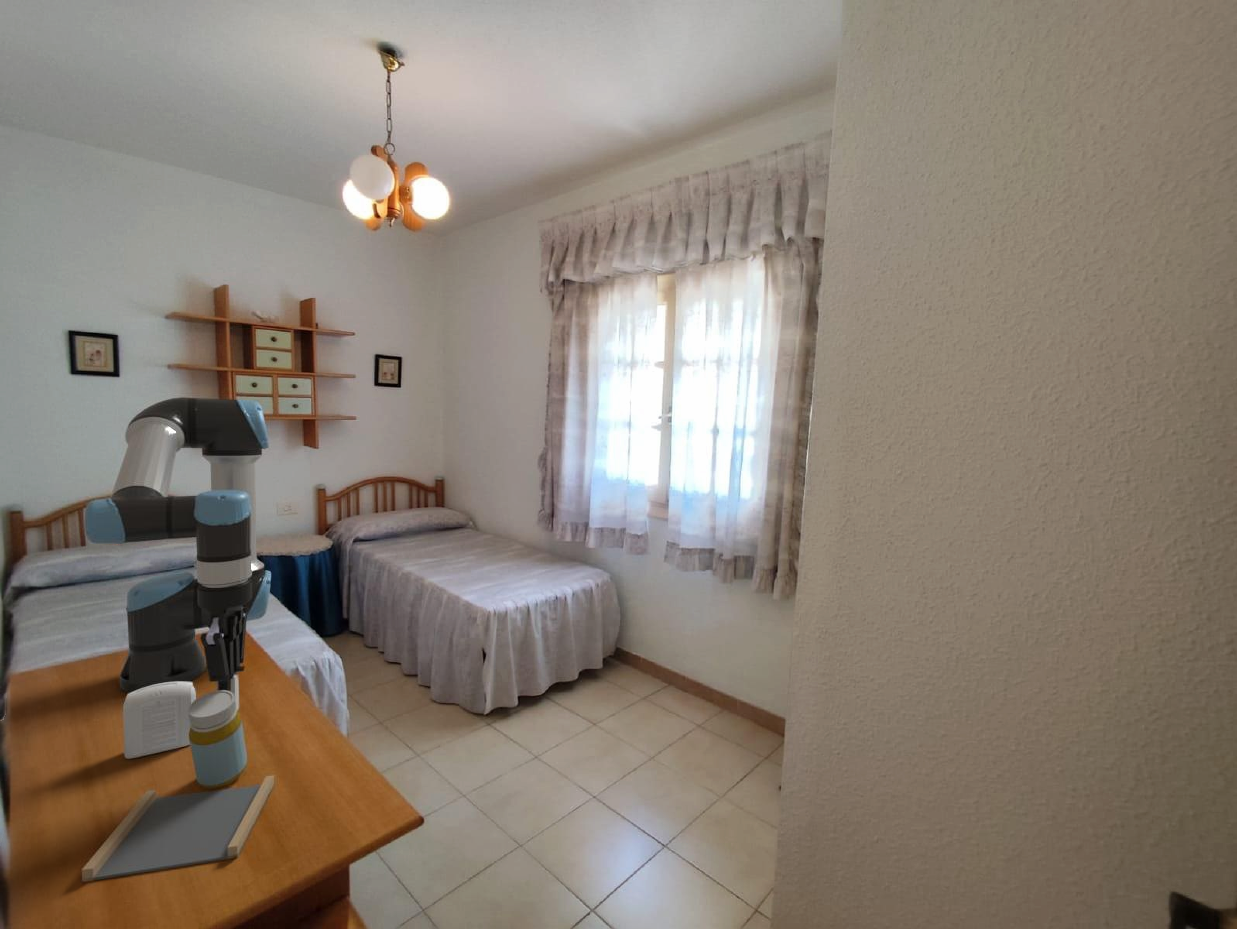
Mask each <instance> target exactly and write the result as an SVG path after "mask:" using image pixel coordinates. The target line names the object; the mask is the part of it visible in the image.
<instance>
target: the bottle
mask: <svg viewBox="0 0 1237 929" xmlns="http://www.w3.org/2000/svg"><path fill="white" fill-rule="evenodd" d="M188 715H189V721H190V724H191V727H190V731H189V740H190V745H189V747H190V750H191V757H192V761H193V762H192V763H193V766H194V772H195V778H196V782H197V784H198V786H200V787H201V788H205V789H210V790H211V789H218V788H223V787H225V786H227V785H230V784H231V783H233V782H234V781H235V780H237V779H238V778H240V776H242V774H243V773H244V772H245V770H246V768H247V766H248V755H247V750H246V749H247V748H246V744H245V736H244V729H243V728H244V727H243V722H242V718H241V717H242V716H241V714H240V713H239V711H238V710H236V701H235V696H234V694H233V693H232V692H230V691H227V690H217V689H216V690H213V691H210V692H207V693H205V694H202V695H200V696H199V697H196V700H194V701H193V702H192V703H191V705H190V706H189V709H188Z"/></svg>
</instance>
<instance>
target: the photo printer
mask: <svg viewBox="0 0 1237 929" xmlns="http://www.w3.org/2000/svg"><path fill="white" fill-rule="evenodd" d="M196 694H197V692H196V688H195V687H194V683H193V681H189V682H185V681H176V682H165V683H159V684H155V685H151V686H147V687H144V688H141V689H138V690H136V691H133V692H131V693H130V692H128V693H127V695H126V697H125V701H124V702H123V706H122V716H123V717H122V719H123V720H122V721H123V751H124V756H123V757H124V758H126V759H128V760H130V759H135V758H140V757H144V756H148V755H153V754H157V753H158V754H159V753H162V752H166V751H170V750H175V749H179V748H182V747H187V746H190V740H189V731H190V727H191V724H190V721H189V715H188V709H189V706H190V705H191V703H192V702H193V701H194V700H196V699H197V697H196V696H197V695H196Z"/></svg>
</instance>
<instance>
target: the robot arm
mask: <svg viewBox="0 0 1237 929" xmlns="http://www.w3.org/2000/svg"><path fill="white" fill-rule="evenodd" d="M265 421H266V420H265V416H264V410H263V407H262V405H261V404H260V403H259V402H257V401H255V400H247V399H246V400H245V399H238V398H237V399H232V398H231V399H230V398H229V399H227V398H226V399H225V398H208V397H207V398H204V397H203V398H202V397H185V396H183V397H175V398H174V397H173V398H169V399H164V400H162V401H159V402H155V403H154V404H151V405H149V406H148V407H146V408H144V409H143V410H142V411H140V412H139V413H138V414H136V415H135V416H134V417H133V418H132V419H131V420H130V422H129V423H128V425H127V428H126V431H125V435H124V437H125V441H126V444H127V448H126V451H125V454H124V457H123V459H122V463H121V465H120V469H119V471H118V475H117V477H116V480H115V483H114V486H113V489H112V492H111V495H110V497H106V498H102V499H94V500H91V501H90V502H88V503H87V505H86V507H85V512H84V530H85V537H87V539H88V541H89V542H90V543H93V544H97V545H98V544H118V545H121V544H122V545H123V544H124V543H125V544H126V543H136V542H139V543H141V542H150V541H161V540H178V539H189V538H191V539H193V538H195V542H196V562H195V563H194V564H193V566H194V568H195V569H196V576H197V577H196V578H195V575H194V574H193V573H192V572H188V571H185V572H179V571H178V572H172V573H166V574H162V575H157V576H154V577H152V578H151V577H150V578H147V579H145V580H143V581H141V582H138V583H136V584H134V585H133V586H132V587H131V588H130V589H129V590H128V592H127V595H126V596H127V597H126V606H125V611H126V613H127V615H126V616H127V632H128V653H127V655H126V657H125V659H124V663H123V667H122V669H121V671H120V674H119V678H118V679H119V688H120V690H122V691H124V692H127V693H131V692H133V691H136V690H138V689H141V688H144V687H147V686H151V685H155V684H159V683H165V682H176V681H185V682H192V681H193V680H194V679H196V678H198V677H200V676H201V675H202V674H203V673H204V672H205V671H206V667H207V673H208V679H209V682H211V683H212V682H216V691H217V690H227V691H230V692H232V693H233V694H234V696H235V701H236V710H237V711H238V710H239V709H240V692H239V690H240V689H239V686H240V685H239V672H240V673H241V672H244V671H245V668H246V666H245V665H242V666H241V664H243V663H244V661H245V648H246V647H245V646H246V634H247V633H246V632H247V630H246V629H247V622H250V621H254V620H260V619H261V618H263V617H265V615H266V613H267V612H268V606H269V599H270V592H271V591H270V590H271V580H272V572H271V571H270V570H265V563H264V562H262V561H260V560H259V559H258V555H257V523H256V522H257V519H256V518H257V515H256V514H257V513H256V510H257V508H256V468H255V467H256V464H255V463H256V462H257V461H258V460H259V459H261V457H262V456H263V450H267V449H268V448H269V447H270V446H269V438H268V433H267V432H268V431H267V426H266V422H265ZM181 449H201V457H203V458H204V459H205V460H206V461H208V462H209V464H210V486H211V487H210V490H208V491H204V492H200V493H198V494H197V495H181V496H169V491H170V490H169V489H170V485H171V480H172V476H173V470H174V465H175V459H176V454H177V453H178V452H180V450H181ZM205 628H209V630H208V632H207V633H202V634H201V635H200V642H201V644H202V645H203V649H204V653H203V650H202V648H201V646H200V644H199V642H198V641H197V638H196V630H200V629H205ZM204 654H205V655H204Z"/></svg>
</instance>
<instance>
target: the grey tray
mask: <svg viewBox="0 0 1237 929" xmlns="http://www.w3.org/2000/svg"><path fill="white" fill-rule="evenodd" d="M274 786H275V775H267V776H265V777H264V779H263V780H262V783H261V784H256V785H249V786H242V787H241V786H240V787H233V788H225V789H216V790H210V791H209V790H208V791H200V792H193V793H185V794H179V795H169V796H163V797H162V796H161V797H157V790H156V789H153V790H147V791H146V792H145V793H144V794H143V795H142V796H141V797H140V799H139V800H138V801H137V802H136V804H135V805H134V806H133V807H132V809H131V810H130V811H129V813H127V815H126V816H125V817H124V818H123V820H121V822H120V823H119V824H118V825H117V827H116V828H115V829H114V830H113V831H112V833H110V835H109V836H108V837H107V838H106V840H105V841H104V843H103V844H102V845H101V846H100V847H99V848H98V850H97V851H96V852H95V853H94V854H93V856H92V857H90V859H89V860H88V862H87V863H86V864H85V865H84V866H83V867H82V868H81V879H82V880H81V881H82V883H85V882H92V881H93V882H94V881H98V880H99V881H100V880H103V879H104V880H105V879H111V878H117V877H124V876H129V875H135V874H143V873H148V872H154V871H160V870H167V869H174V868H180V867H188V866H192V865H199V864H205V863H212V862H217V861H223V860H230V859H236V858H238V857H239V856H240V854H241V851H242V850H243V847H244V845H246V844H245V843H246V842H247V840H248V838H249V836H250V835H251V832H252V830H253V828H254V826H255V824H256V822H257V820H258V818H259V817H260V815H261V812H262V810H263V808H264V806H265V805H266V802H267V800H268V799H269V796H270V794H271V792H272V790H273V788H274Z"/></svg>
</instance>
